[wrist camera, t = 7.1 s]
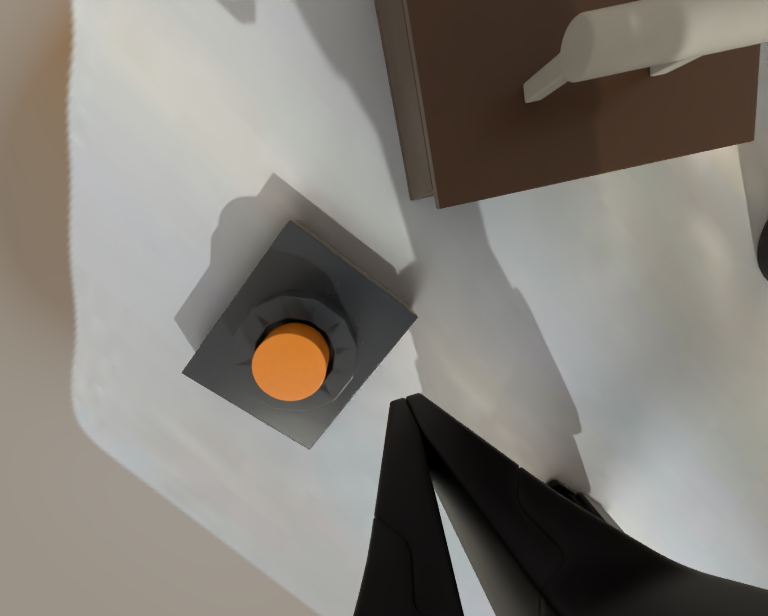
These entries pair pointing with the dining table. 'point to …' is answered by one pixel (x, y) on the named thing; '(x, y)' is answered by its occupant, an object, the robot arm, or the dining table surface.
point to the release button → (291, 362)
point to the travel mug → (764, 252)
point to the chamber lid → (577, 86)
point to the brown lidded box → (404, 96)
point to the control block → (307, 306)
